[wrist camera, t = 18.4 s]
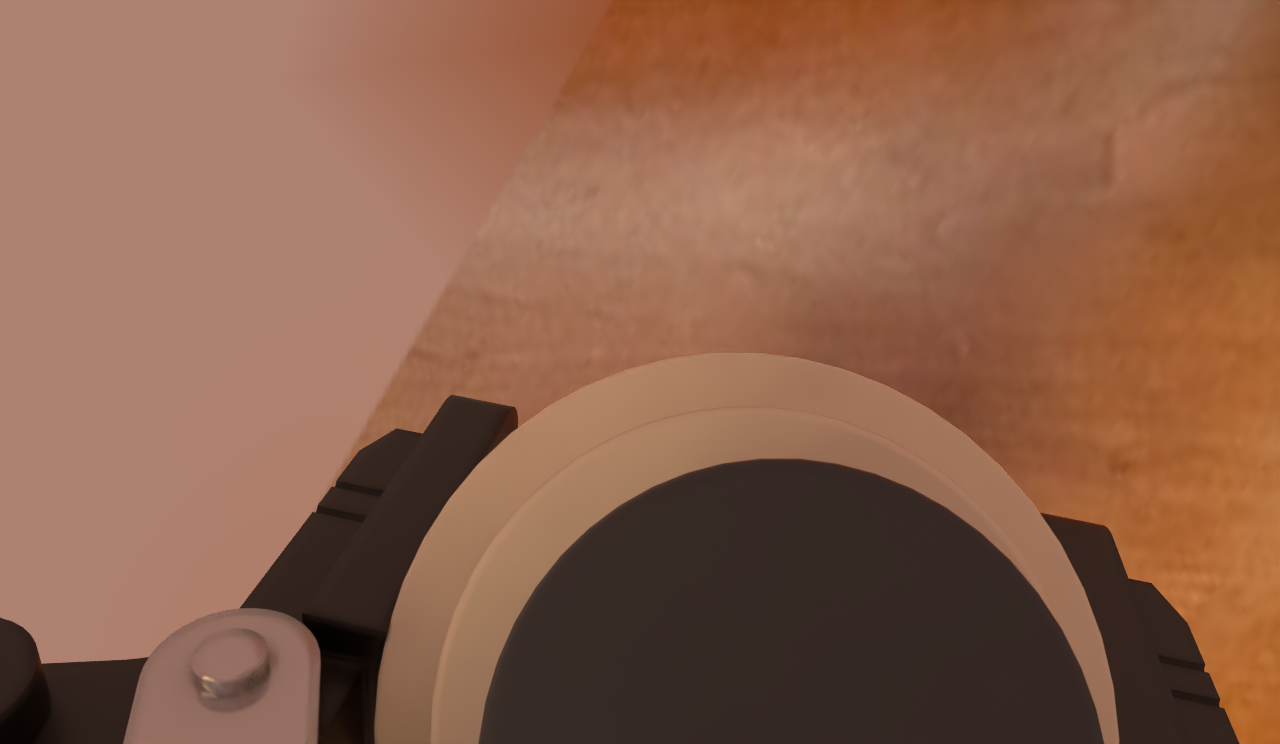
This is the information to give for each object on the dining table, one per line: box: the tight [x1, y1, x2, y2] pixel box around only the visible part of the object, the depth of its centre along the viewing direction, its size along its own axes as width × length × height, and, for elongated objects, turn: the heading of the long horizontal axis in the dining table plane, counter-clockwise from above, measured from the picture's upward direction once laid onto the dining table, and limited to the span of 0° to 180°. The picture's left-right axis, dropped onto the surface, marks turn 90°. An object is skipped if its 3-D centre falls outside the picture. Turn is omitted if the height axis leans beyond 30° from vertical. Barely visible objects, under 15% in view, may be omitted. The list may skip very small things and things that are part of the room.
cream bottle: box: [374, 353, 1119, 744], centre depth 10 cm, size 6×6×12 cm
